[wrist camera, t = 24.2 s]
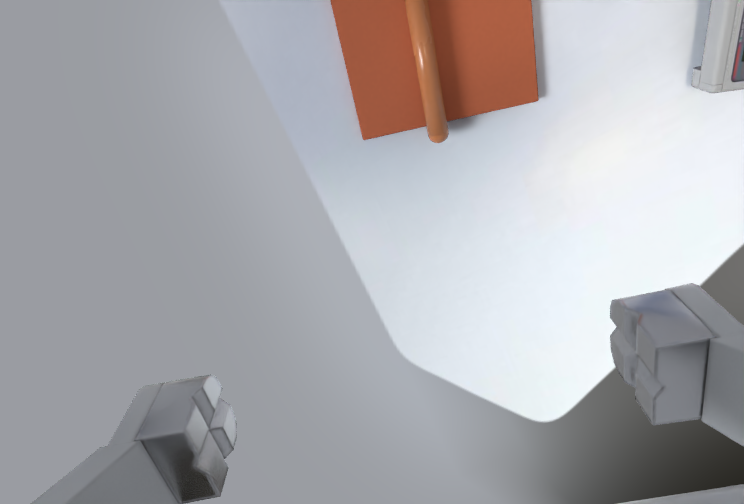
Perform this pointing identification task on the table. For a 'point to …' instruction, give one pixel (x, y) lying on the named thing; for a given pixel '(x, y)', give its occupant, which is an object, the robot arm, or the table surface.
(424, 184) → the table surface
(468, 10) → the terracotta mat
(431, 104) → the square head mallet
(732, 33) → the handheld gaming device
